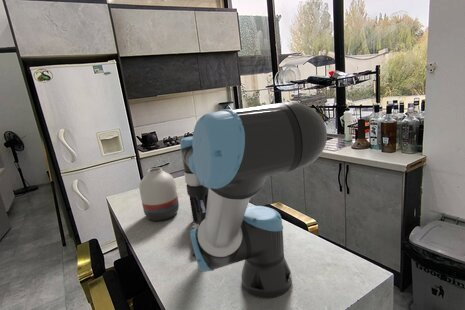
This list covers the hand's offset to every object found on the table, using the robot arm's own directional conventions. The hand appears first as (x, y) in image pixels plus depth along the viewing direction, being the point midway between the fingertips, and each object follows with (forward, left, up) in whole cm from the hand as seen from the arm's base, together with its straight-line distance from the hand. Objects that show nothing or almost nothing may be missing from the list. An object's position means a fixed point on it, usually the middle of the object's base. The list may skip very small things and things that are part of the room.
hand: (205, 243), depth 100 cm
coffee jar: (+28, -5, -5) cm, 29 cm away
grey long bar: (+11, +1, -5) cm, 12 cm away
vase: (+43, +13, -5) cm, 46 cm away
